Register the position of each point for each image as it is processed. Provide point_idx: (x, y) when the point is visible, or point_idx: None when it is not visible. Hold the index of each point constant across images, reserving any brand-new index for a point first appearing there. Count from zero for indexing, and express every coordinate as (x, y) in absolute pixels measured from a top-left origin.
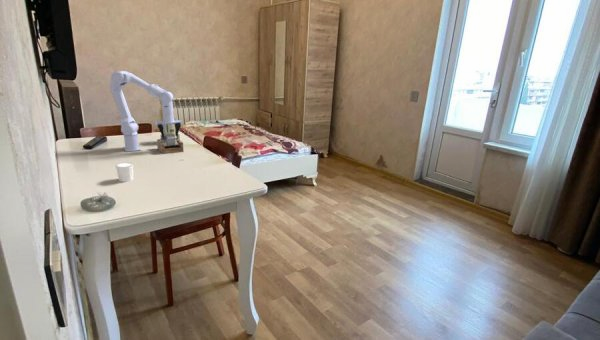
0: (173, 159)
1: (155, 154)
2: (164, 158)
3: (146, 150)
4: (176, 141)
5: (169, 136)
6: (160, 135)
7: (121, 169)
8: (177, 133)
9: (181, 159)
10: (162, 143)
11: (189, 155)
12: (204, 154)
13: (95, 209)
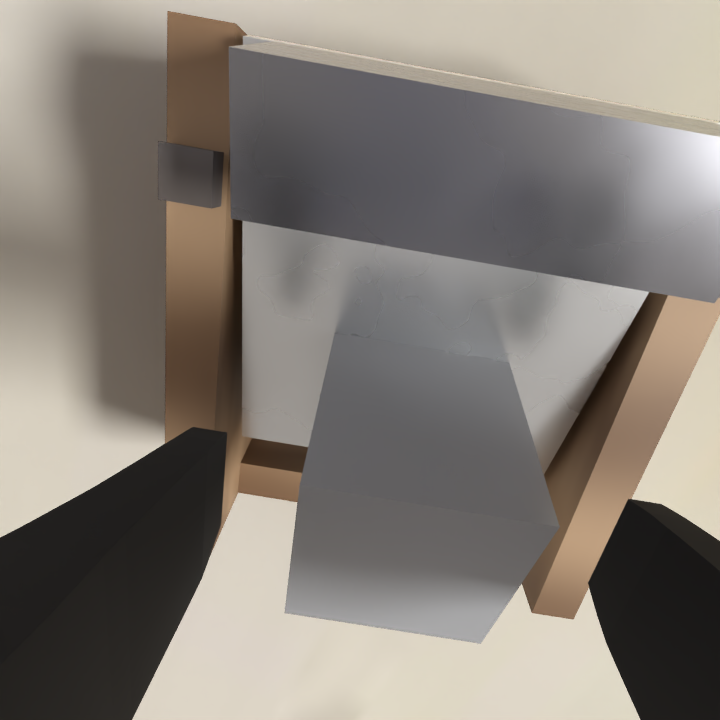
0: (265, 674)
1: (128, 415)
2: (190, 607)
3: (24, 91)
4: (581, 378)
5: (383, 561)
6: (236, 53)
7: None
8: (661, 704)
9: (336, 707)
10: None
11: (481, 649)
12: None
13: None
